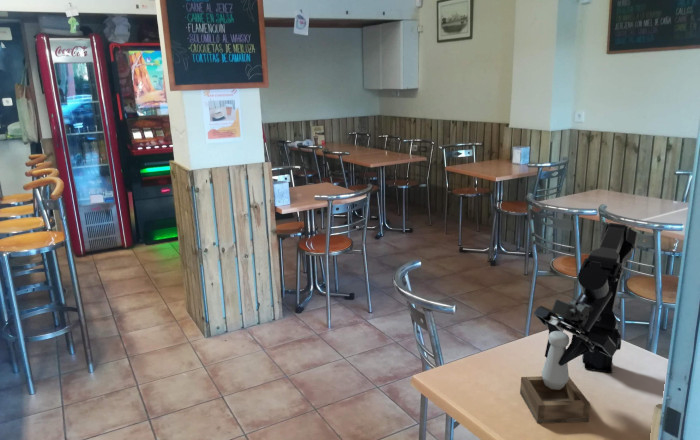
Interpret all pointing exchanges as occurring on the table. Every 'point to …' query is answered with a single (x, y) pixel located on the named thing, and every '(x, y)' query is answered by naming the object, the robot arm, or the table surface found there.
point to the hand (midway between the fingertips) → (552, 361)
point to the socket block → (554, 401)
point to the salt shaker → (556, 361)
